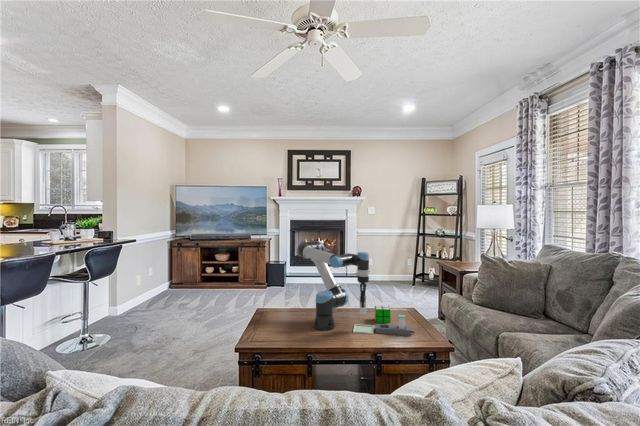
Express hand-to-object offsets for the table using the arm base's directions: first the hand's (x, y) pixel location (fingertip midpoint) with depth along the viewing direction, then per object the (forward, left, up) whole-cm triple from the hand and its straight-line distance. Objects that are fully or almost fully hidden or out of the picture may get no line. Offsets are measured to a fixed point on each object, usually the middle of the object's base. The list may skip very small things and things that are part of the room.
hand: (362, 310), depth 199 cm
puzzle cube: (+12, +20, -13) cm, 27 cm away
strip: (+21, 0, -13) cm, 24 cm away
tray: (0, 0, -13) cm, 13 cm away
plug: (0, 0, -2) cm, 2 cm away
